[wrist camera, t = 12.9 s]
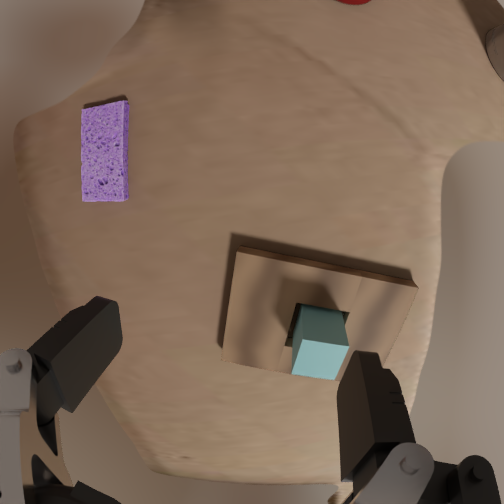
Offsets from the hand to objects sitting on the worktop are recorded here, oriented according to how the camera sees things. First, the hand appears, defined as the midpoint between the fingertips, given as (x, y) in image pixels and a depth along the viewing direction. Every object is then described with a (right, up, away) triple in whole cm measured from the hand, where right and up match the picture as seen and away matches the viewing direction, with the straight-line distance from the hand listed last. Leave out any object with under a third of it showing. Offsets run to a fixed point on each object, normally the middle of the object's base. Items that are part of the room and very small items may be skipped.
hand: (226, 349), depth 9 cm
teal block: (+9, -6, +27) cm, 29 cm away
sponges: (-18, +16, +24) cm, 34 cm away
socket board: (+9, -6, +27) cm, 29 cm away
